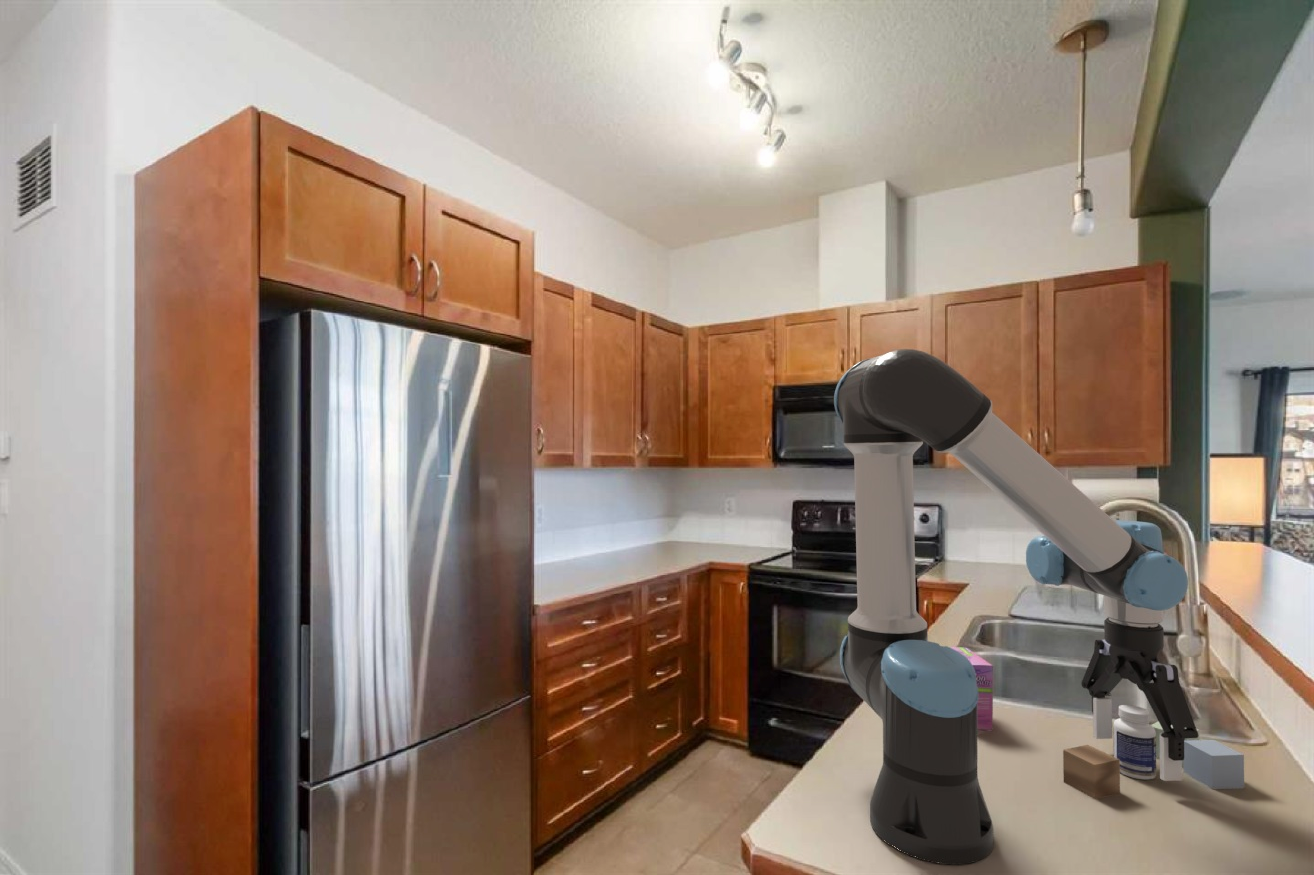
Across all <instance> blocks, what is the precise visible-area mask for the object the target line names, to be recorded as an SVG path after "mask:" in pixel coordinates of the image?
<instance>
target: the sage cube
mask: <svg viewBox="0 0 1314 875" xmlns="http://www.w3.org/2000/svg"><path fill="white" fill-rule="evenodd" d="M1150 725H1151V726H1152V727H1153V728H1154V729H1155V731H1156V760H1157V759H1158V760H1160V734H1162V733H1164V731H1163V729H1162V727H1161V725H1160V723H1159V721H1156V722H1154V723H1152V724H1150ZM1171 728H1173V726H1172V725H1171ZM1185 729H1186V728H1185ZM1196 729H1197V732H1198V738H1185V740H1184V741H1188V740H1200V729H1199V728H1196ZM1182 768H1183V760H1182Z"/></svg>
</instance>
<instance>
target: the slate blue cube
mask: <svg viewBox="0 0 1314 875" xmlns="http://www.w3.org/2000/svg"><path fill="white" fill-rule="evenodd" d="M1182 772H1183V773H1184V774H1186V775H1187V776H1189V777H1191V778H1192V779H1194V780H1196V781H1198V782H1199V783H1201V784H1203V785H1205V786H1207V787H1208V788H1209V789H1211V790H1222V789H1223V790H1227V789H1245V755H1244V754H1243V753H1241V752H1239V751H1237V750H1235V749H1233V748H1231V747H1229V746H1227V745H1225V744H1223V743H1221V742H1219V741H1217V740H1215V739H1199V740H1188V741H1184V760H1183V767H1182Z"/></svg>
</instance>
